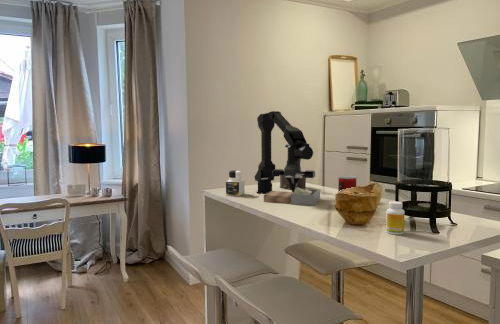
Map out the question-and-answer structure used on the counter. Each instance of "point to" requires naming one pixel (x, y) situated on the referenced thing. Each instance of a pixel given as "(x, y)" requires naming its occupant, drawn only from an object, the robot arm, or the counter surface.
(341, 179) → the canned food
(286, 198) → the riser board
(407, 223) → the counter surface
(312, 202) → the box
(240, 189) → the medicine bottle
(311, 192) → the cream tile
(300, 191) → the sage tile
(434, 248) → the counter surface
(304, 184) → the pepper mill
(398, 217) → the supplement bottle
